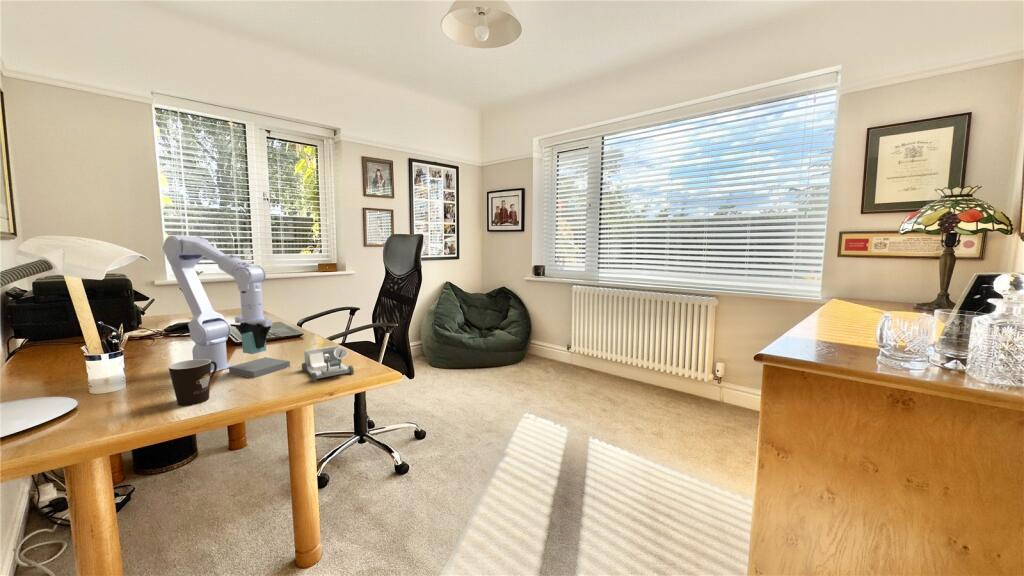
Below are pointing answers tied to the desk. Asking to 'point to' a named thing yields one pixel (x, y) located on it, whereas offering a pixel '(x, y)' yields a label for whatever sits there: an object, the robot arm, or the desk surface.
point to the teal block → (250, 344)
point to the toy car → (325, 362)
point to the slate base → (259, 367)
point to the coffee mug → (192, 380)
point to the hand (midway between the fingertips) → (254, 346)
